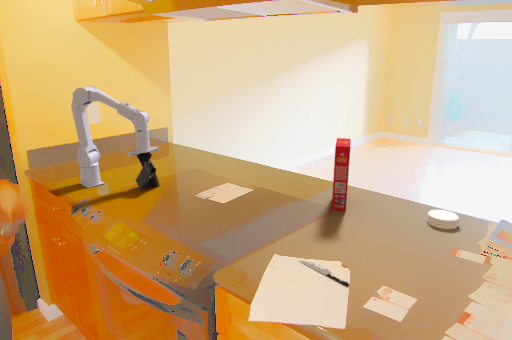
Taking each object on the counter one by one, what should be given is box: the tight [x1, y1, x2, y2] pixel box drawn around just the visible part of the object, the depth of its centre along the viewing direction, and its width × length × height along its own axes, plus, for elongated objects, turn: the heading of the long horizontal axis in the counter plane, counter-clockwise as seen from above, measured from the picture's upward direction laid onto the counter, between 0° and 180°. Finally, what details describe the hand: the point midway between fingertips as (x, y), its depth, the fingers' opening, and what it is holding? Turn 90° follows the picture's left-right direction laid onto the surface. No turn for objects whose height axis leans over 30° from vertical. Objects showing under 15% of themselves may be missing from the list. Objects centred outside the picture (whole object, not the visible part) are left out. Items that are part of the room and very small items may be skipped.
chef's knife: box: [298, 260, 350, 287], centre depth 103 cm, size 19×1×3 cm
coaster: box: [426, 209, 460, 230], centre depth 131 cm, size 10×10×4 cm
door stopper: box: [135, 158, 161, 191], centre depth 166 cm, size 9×6×12 cm, turn 128°
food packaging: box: [331, 137, 352, 212], centre depth 146 cm, size 15×5×25 cm, turn 166°
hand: (145, 169), depth 168 cm, fingers closed
